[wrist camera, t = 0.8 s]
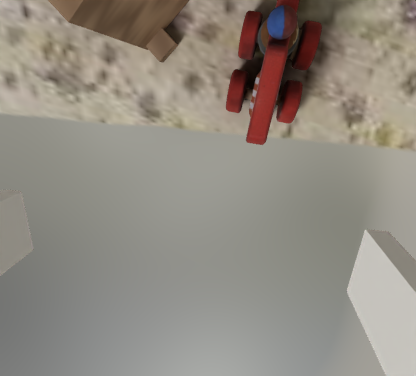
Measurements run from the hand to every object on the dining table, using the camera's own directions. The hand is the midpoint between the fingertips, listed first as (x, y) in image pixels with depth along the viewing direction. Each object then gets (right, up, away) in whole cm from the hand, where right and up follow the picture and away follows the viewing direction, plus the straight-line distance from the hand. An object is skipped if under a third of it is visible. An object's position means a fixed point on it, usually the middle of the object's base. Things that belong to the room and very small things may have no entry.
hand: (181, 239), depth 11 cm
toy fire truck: (+7, +14, +18) cm, 24 cm away
